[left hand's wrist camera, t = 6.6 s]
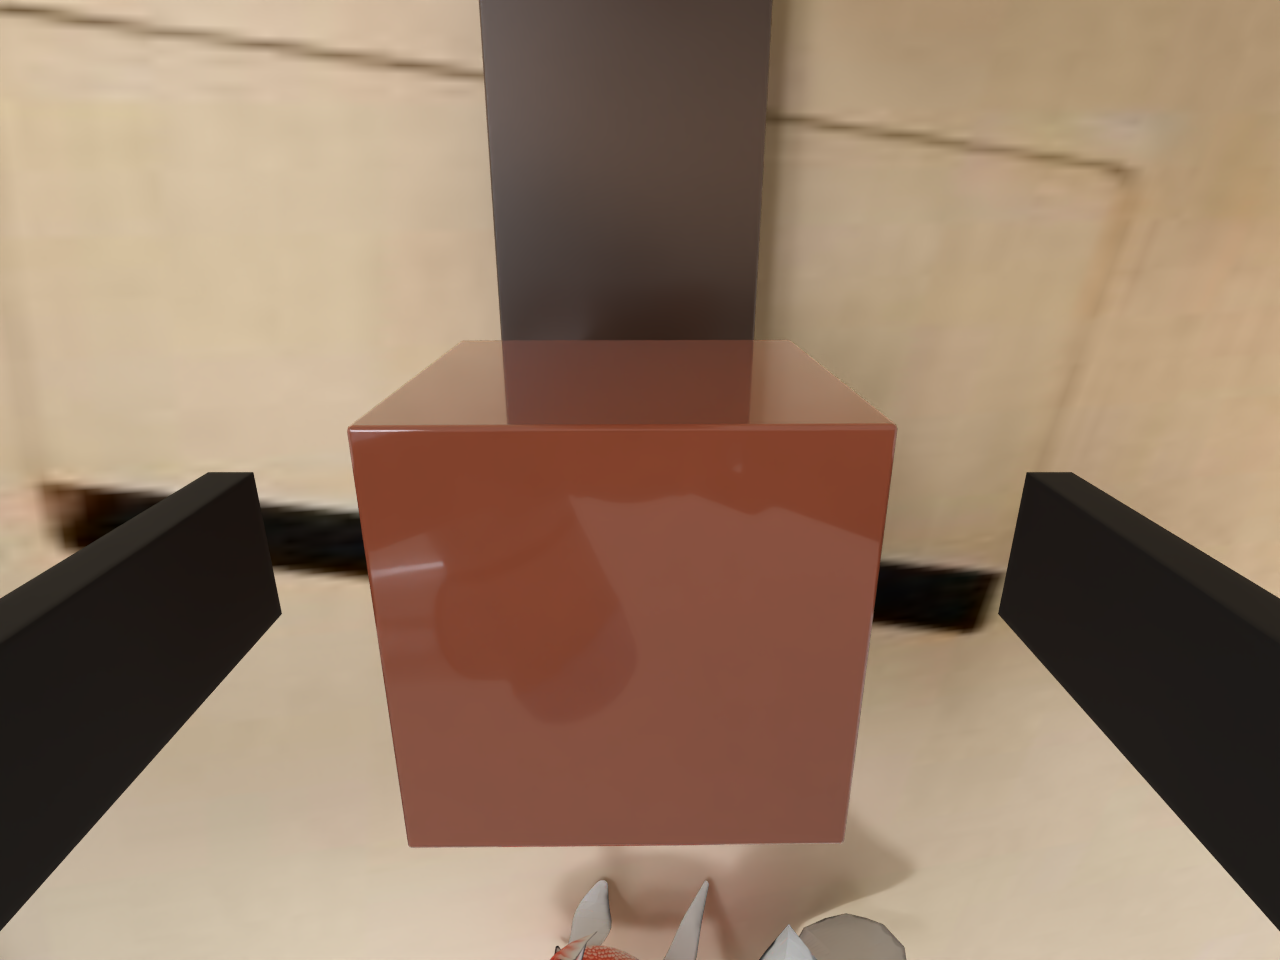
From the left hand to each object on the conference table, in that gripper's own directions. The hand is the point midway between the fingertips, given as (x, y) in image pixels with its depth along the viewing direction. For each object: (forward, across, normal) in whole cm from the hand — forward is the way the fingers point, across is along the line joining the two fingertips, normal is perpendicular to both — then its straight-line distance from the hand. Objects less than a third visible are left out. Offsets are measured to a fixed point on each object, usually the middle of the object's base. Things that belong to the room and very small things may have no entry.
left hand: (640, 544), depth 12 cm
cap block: (+3, 0, 0) cm, 3 cm away
